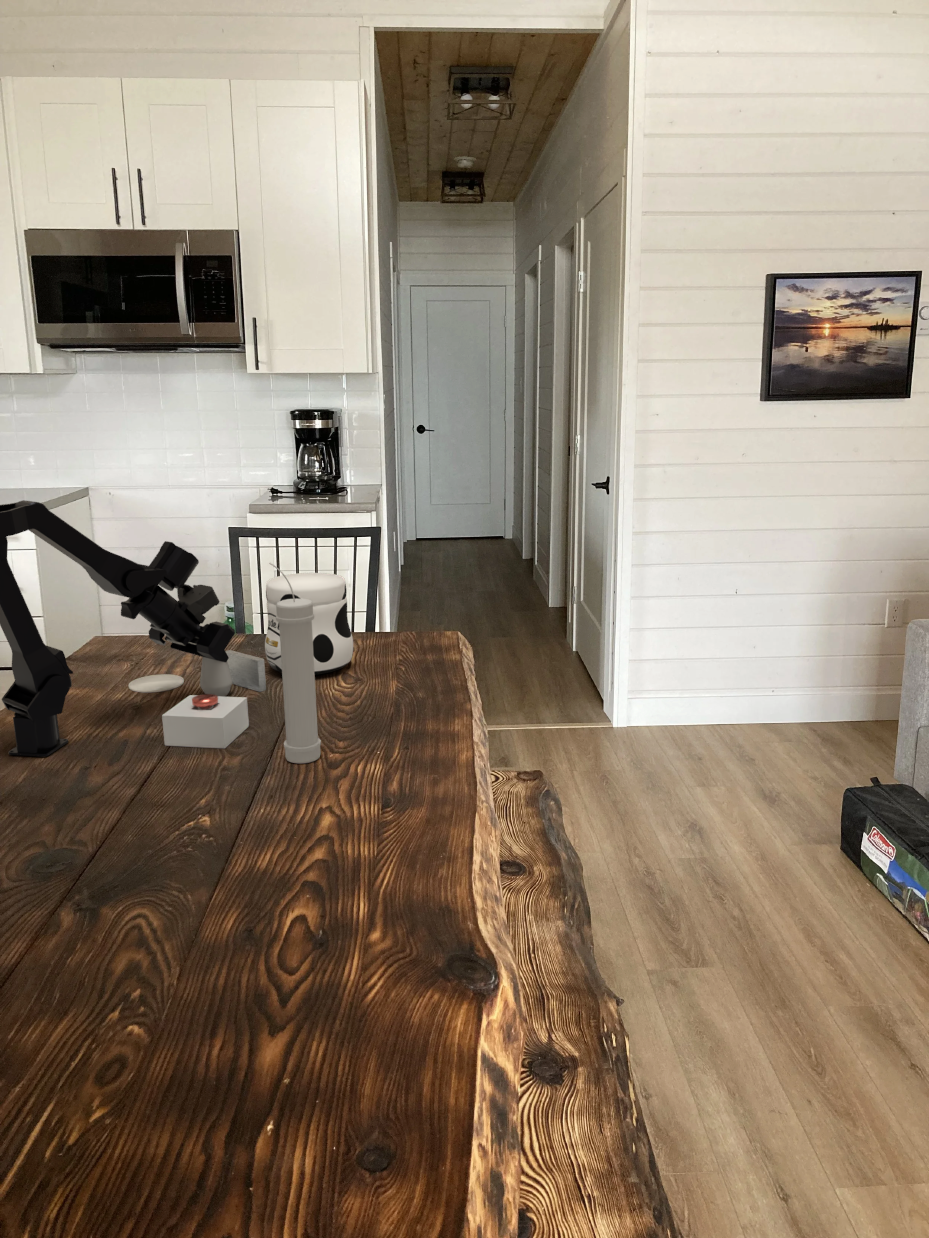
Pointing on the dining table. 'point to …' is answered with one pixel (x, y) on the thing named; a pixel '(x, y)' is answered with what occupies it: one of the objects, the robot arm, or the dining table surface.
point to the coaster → (156, 683)
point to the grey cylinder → (298, 679)
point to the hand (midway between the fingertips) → (220, 658)
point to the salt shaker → (215, 677)
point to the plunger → (205, 701)
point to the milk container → (326, 626)
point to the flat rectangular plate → (247, 670)
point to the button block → (205, 723)
